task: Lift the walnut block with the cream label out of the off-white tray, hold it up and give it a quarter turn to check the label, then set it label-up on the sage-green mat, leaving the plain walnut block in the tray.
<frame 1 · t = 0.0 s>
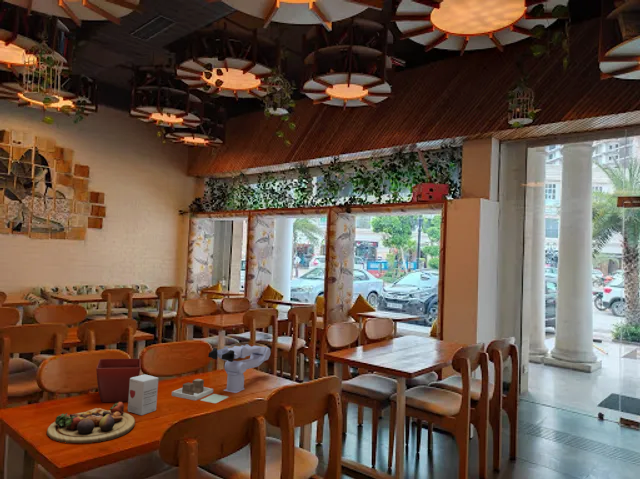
hand: (215, 356, 239), 22 cm above the table, tool horizontal, fingers open, 7 cm apart
wooden plate with food: (92, 429, 195), on the table
supplement box: (141, 411, 218), on the table
plain block: (187, 396, 241), point 1 cm above the table, touching parts tray
sage mat: (214, 399, 240), on the table
parts tray: (192, 395, 245), on the table
labelled block: (197, 392, 248), point 1 cm above the table, touching parts tray
plant pot: (117, 398, 234), on the table
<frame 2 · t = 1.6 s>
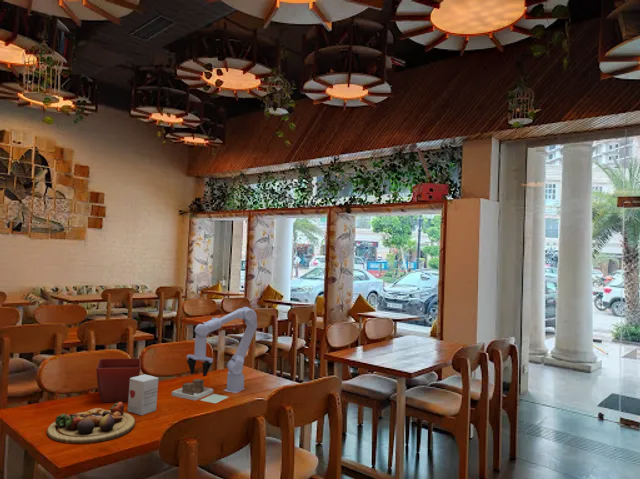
hand: (198, 374, 249), 9 cm above the table, tool pointing down, fingers open, 7 cm apart
nothing on the table moved.
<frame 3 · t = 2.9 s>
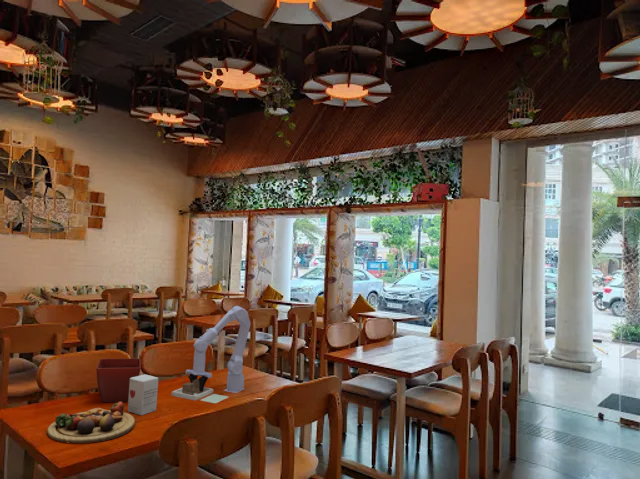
hand: (197, 389, 248), 2 cm above the table, tool pointing down, fingers closed on labelled block, 4 cm apart
labelled block: (197, 392, 248), point 1 cm above the table, touching gripper, parts tray
everything else where it was.
when the fingers open (3 cm above the table, at t = 8.2 s): labelled block stays where it is, resting on sage mat.
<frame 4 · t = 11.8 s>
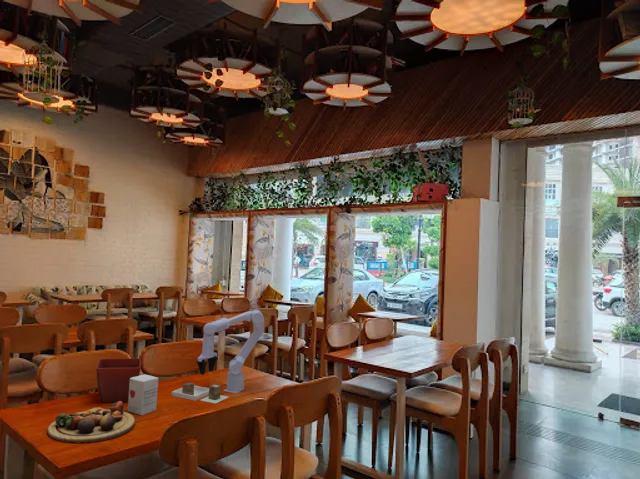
hand: (206, 372, 253), 9 cm above the table, tool pointing down, fingers open, 7 cm apart
labelled block: (214, 398, 240), point 1 cm above the table, touching sage mat
everything else where it was.
at the end: labelled block inside the target area on the sage mat (0.2 cm from its centre), point 0.6 cm above the sage mat's base; labelled block tilted 0°; plain block moved 0.0 cm from its start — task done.
